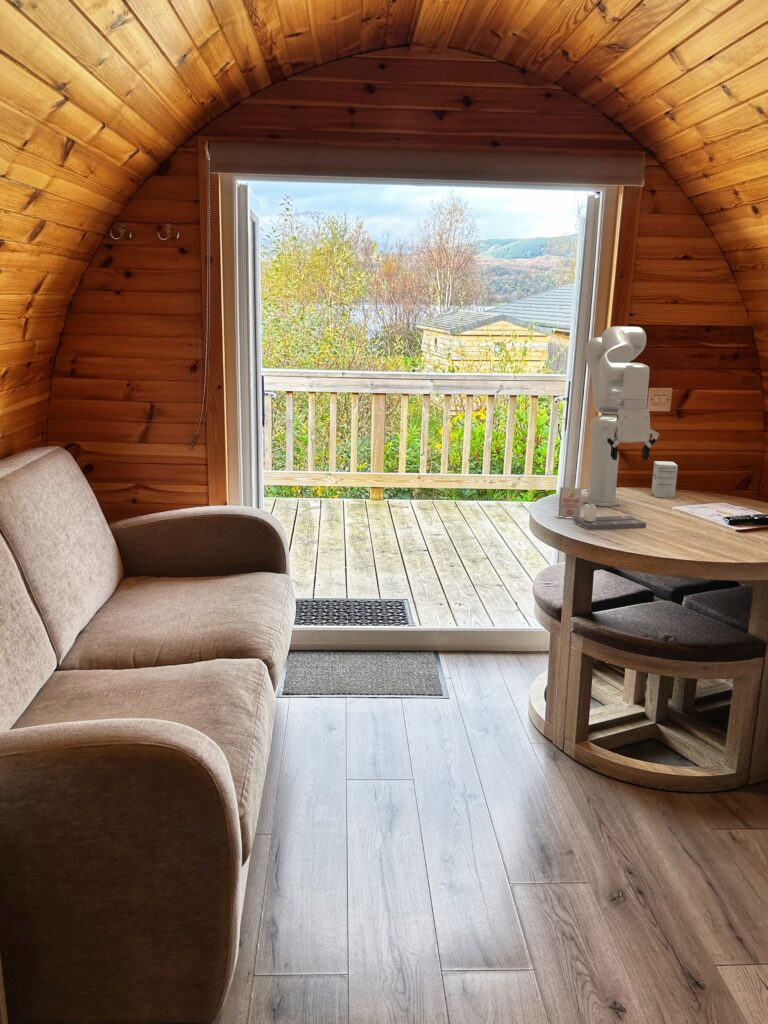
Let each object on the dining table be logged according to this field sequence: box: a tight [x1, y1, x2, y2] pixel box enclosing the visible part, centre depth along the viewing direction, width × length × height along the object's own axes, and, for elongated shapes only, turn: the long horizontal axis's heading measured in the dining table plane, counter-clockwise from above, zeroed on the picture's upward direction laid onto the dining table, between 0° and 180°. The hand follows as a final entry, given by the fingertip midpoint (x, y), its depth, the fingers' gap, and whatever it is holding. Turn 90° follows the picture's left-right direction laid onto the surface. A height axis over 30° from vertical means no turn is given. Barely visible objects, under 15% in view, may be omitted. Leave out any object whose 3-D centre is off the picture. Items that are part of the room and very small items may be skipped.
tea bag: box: [557, 486, 583, 518], centre depth 266 cm, size 4×7×10 cm, turn 73°
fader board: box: [573, 515, 647, 530], centre depth 258 cm, size 10×20×2 cm, turn 102°
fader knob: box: [583, 503, 598, 522], centre depth 255 cm, size 3×2×5 cm
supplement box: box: [650, 460, 679, 499], centre depth 301 cm, size 7×7×13 cm
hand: (629, 459), depth 252 cm, fingers open, 9 cm apart
